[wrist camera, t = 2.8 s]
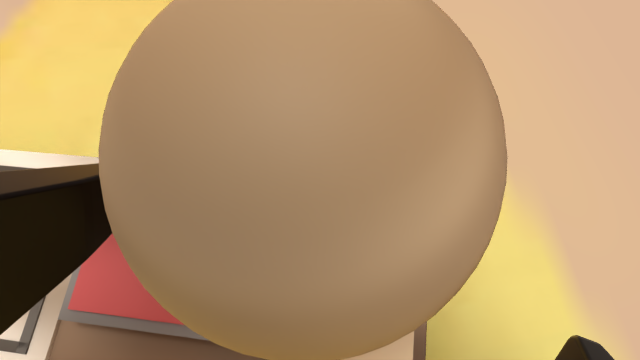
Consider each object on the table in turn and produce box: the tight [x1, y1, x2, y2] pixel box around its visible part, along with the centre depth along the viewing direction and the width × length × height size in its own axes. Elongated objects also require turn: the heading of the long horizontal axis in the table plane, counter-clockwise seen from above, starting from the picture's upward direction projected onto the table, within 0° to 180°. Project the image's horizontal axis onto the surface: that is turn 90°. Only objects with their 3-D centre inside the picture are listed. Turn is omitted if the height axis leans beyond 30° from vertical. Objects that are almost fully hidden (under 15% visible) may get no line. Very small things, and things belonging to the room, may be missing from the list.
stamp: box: [99, 0, 507, 360], centre depth 10 cm, size 5×5×14 cm
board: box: [0, 149, 427, 360], centre depth 17 cm, size 11×23×2 cm, turn 83°
